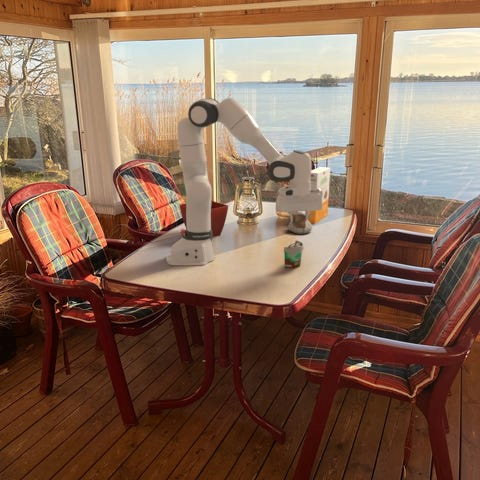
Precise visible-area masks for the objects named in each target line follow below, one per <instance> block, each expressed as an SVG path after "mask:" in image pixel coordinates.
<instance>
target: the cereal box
mask: <svg viewBox="0 0 480 480" xmlns="http://www.w3.org/2000/svg"><path fill="white" fill-rule="evenodd" d="M310 181H311V188H310V189H320V190H322V192H323V196H322V209H321V210H315V211H310V214H309V216H308V217H307V220H308V221H309V222H310V223H311V225H315V224H318V223H319V222H320V221H322V220H323V219H325V218H326V217H327V216H328V215H329V214H328V213H329V212H328V211H329V196H330V195H329V194H330V181H331V167H324V166H320V167H317V168H315V169H311V175H310ZM304 212H305V211H304ZM305 214H306V212H305V213H304V215H305Z"/></svg>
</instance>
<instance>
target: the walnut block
mask: <svg viewBox="0 0 480 480" xmlns="http://www.w3.org/2000/svg"><path fill="white" fill-rule="evenodd" d="M291 215H292V216H293V217H295V222H292V224H293V225H294V226H295V228H305V226H306V216H305V213H304V212H303V211H298V212H293V214H291Z"/></svg>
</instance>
